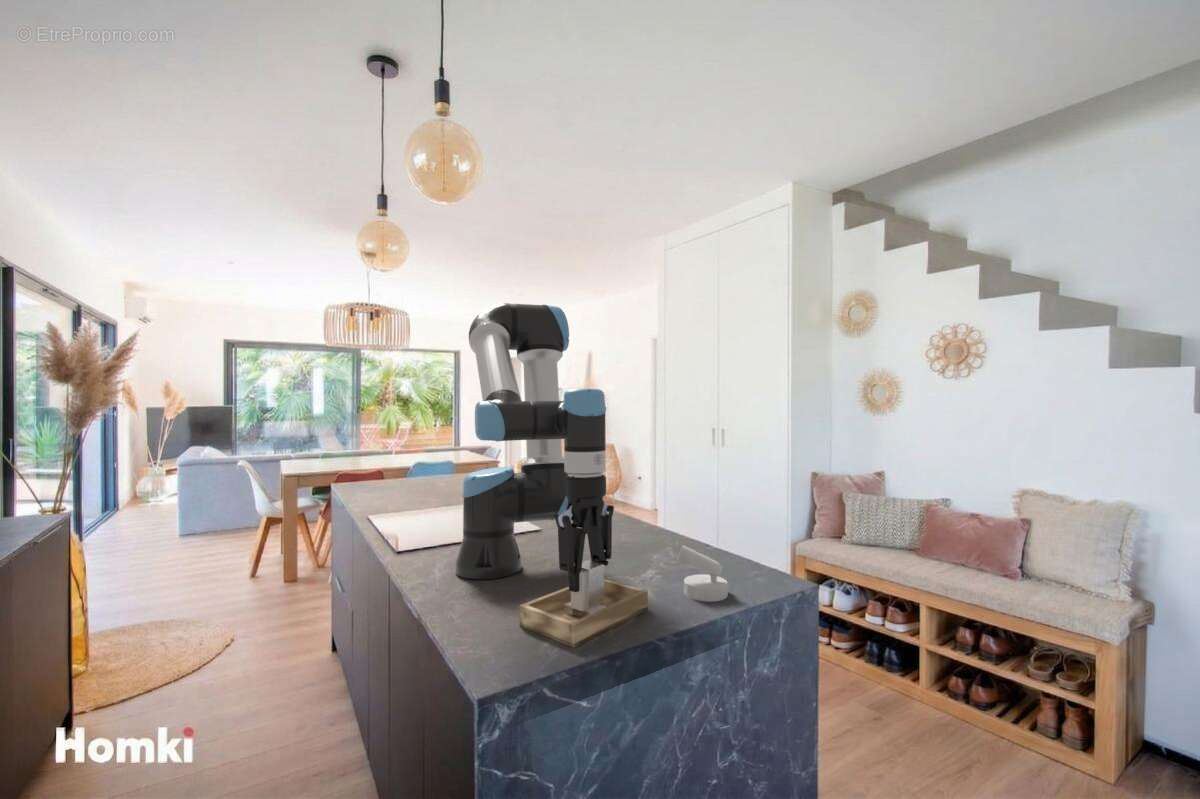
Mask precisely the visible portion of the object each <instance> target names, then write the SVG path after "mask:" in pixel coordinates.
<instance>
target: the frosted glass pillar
mask: <svg viewBox="0 0 1200 799" xmlns="http://www.w3.org/2000/svg"><path fill="white" fill-rule="evenodd" d="M574 566H575V564H574ZM604 568H605V565H604V564H600V563H597V562H593V561H591V560H588V559H587V560H584V561H583V560H582V568H581V572H584V573H585V610H584V611H580V610H577V609H574V608H571V602H570V603H567V604H565V613H566V614H569V615H572V616H575V617H578V618H580V619H581V618H583V617H585V616H587V615H589V614H592V613H594V612H596V611H598V610H600V609H602V608H605V606H604V579H605V576H604V575H605V570H604Z"/></svg>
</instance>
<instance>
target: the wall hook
mask: <svg viewBox="0 0 1200 799" xmlns="http://www.w3.org/2000/svg"><path fill="white" fill-rule="evenodd" d="M676 560H679V561H680V562H682V563H684V564H686V565H688V566H690V567H692V568H694V569H696V570H698V571H700V572H703V574H692V575H688V576H686V577H685V578H684V580H683V595H685V596H686V597H687V598H689V599H691V600H694V601H698V602H706V603H707V602H708V603H709V602H718V601H719V602H720V601H723V600H725V599H727V598H728V596H729V594H728V592H729V591H728V580H726V579H725V578H723V577H721V575H722V573H723V566H722V565H721V564H720V563H719V562H718V561H717V560H715V559H712V558H711V557H708V556H707V555H704V554H702V553H700V552H699V551H696V550H694V549H692V548H690V547H688V546H685V545H683V544H682V545H681V547H680V550H679V552H678V554H677V558H676Z"/></svg>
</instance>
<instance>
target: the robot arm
mask: <svg viewBox="0 0 1200 799" xmlns="http://www.w3.org/2000/svg"><path fill="white" fill-rule="evenodd" d="M569 338H570V328H569V322H568V319H567V315H566V313H565V312H564V311H563V309H562V308H560V307H559V306H554V305H547V304H531V303H530V304H528V303H527V304H526V303H509V302H508V303H507V302H502V303H501V302H500V303H495V304H492V305H490V306H489V307H486V308H484V309H483V310H482V311H481V312H480V313H478V314H477V316H476V317H474V319H473V321H472V323H471V324H470V326H469V331H468V342H469V347H470V350H472V352H473V353H474V354H475V358H476V364H477V366H476V367H477V372H478V378H479V384H480V392H481V397H482V401H479V402H477V403H476V404H475V408H474V431H475V436H476V438H477V439H478V440H479V441H495V442H508V441H510V442H511V441H526V442H525V444H526V459H525V460H524V462H523V463H522V464H521V465H520V472H515V470H514V467H511V466H501V467H500V466H498V467H497V466H496V467H491V468H485V469H481V470H477V471H474V472H471V473H468V474H467V475H466V476H465V477H464V479H463V483H462V484H463V486H462V494H461V497H462V499H463V500H462V501H463V502H462V503H463V504H462V510H463V511H462V517H463V518H462V522H463V523H462V525H463V526H462V540H461V543H460V546H459V550H458V554H457V558H456V560H455V563H454V564H455V571H454V572H455V574H456V575H457V576H458V577H461V578H465V579H468V580H469V579H470V580H494V579H500V578H505V577H509V576H512V575H515V574H517V573H519V572H520V571H521V570H522V568H523V566H522V555H521V554H520V550H519V545H518V543H517V540H516V537H515V526H514V525H515V523H526V522H527V523H529V522H539V521H540V522H541V521H542V522H543V521H555V524H556V526H557V532H558V533H557V537H558V538H557V540H558V541H557V543H558V564H559V566H558V567H559V570H560V571H564V572H567V573H568V587H569V590H570V591H571V608H574V609H577V610H580V611H584V610H585V573H584V572H581V568H582V562H583V558H584V550H585V542H586V541H585V540H586V537H587V541H588V548H589V555H590V561H593V562H597V563H600V564H604V567H606V566H608V565H609V560H611V559H612V551H613V550H612V548H613V546H612V541H613V540H612V538H613V536H612V534H613V533H612V532H613V529H612V528H613V527H612V526H613V525H612V524H613V516H614V510H615V507H614V505H612V504H611V505H610V504H606V503H605V501H604V500H603V497H605V496H606V495H607V477H606V475H605V474H604V473H605V472H606V471H607V469H606V467H607V466H606V446H607V445H606V442H607V441H606V436H607V435H606V411H607V407H606V400H605V399H606V398H605V392H604V391H603V390H602V389H599V388H573V389H572V388H570V389H566V390H565V391H564V393H563V400H560V393H559V392H560V391H559V373H558V362H559V361H560V360H561V358H563V355H564V354H563V353H564V352H566V351H567V350H568V347H569V345H570V339H569ZM509 350H510V351H516V359H518V360H519V361H520V362H521V363H522V364H523V366H522V367H523V388H524V389H523V390H524V400H522V397H521V394H520V390H519V386H518V381H517V378H516V374H515V369H514V365H513V362H512V358H511V353H510V351H509ZM562 440H563V441H564V442H563V443H564V448H562V446H563V445H562ZM563 450H564V453H563ZM563 455H564V457H563ZM586 534H587V536H586ZM574 564H575V566H574Z"/></svg>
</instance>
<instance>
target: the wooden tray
mask: <svg viewBox="0 0 1200 799" xmlns="http://www.w3.org/2000/svg"><path fill="white" fill-rule="evenodd" d="M648 597H649V595H648V590H645V589H642V588H638V587H635V586H631V585H628V584H627V585H626V584H624V583H621V582H617V581H613V580H609V579H606V578H604V606H605V608H602V609H600V610H598V611H596V612H594V613H592V614H589V615H587V616H585V617H583V618H581V619H580V618H578V617H575V616H572V615H569V614H566V613H565V604H567V603H570V602H571V591H570V590H569V586H567V587H564V588H561V589H559V590H556V591H553V592H551V593H548V594H546V595H544V596H540V597H538V598H536V599H533V600H530V601H528V602H525V603H522V604H520V605H519V616H518V617H519V619H518V620H519V627H521V628H523V629H527V630H529V631H531V632H534V633H536V634H539V635H541V636H544V637H546V638H549V639H551V640H553V641H556V642H558V643H561V644H564V645H566V646H568V647H571V648H573V649H575V648H576V647H578V646H580V645H582V644H585V643H586V642H588V641H590V640H592V639H594V638H595V637H598V636H600V635H601V634H604V633H605V632H607V631H609V630H611V629H613V628H615V627H617V626H618V625H621V624H623V623H625V622H626V621H629V620H630V619H633V618H634V617H636V616H639V615H640V614H642V613H644V612H646V611H648V609H649V606H648V604H649V602H648V600H649V599H648Z"/></svg>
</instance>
